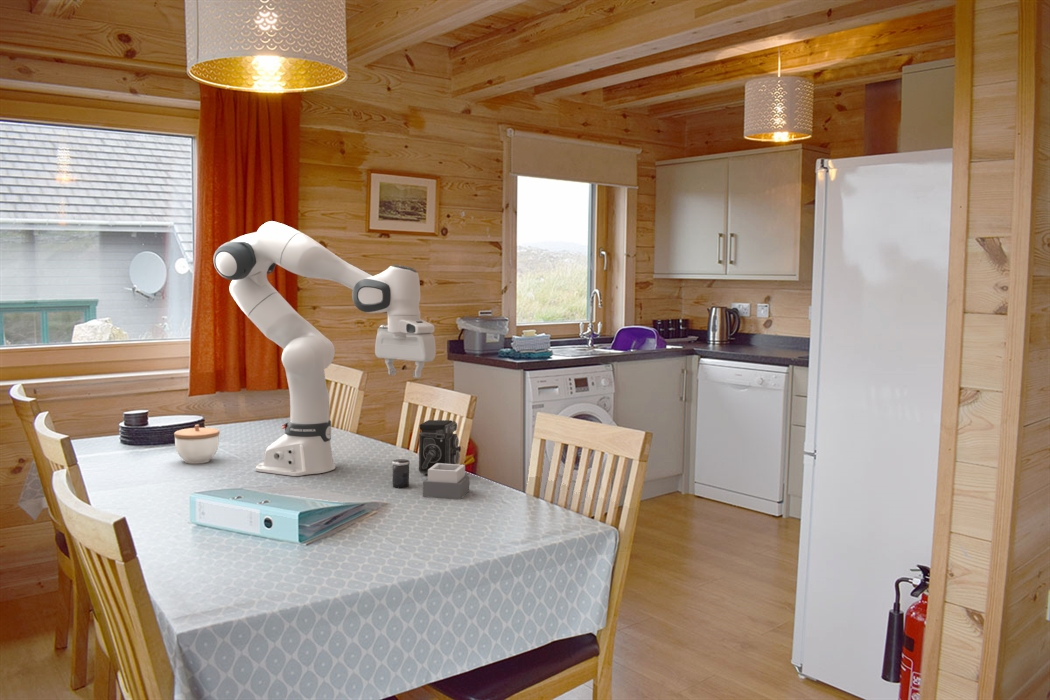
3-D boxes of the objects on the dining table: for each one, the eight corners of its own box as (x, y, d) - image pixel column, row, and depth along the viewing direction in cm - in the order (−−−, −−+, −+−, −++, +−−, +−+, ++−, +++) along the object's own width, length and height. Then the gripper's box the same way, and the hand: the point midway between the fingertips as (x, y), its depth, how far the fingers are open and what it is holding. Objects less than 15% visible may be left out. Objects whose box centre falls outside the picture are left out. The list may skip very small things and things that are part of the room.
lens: (389, 487, 214) (389, 462, 214) (395, 483, 219) (395, 458, 218) (406, 489, 213) (406, 463, 213) (411, 484, 218) (411, 459, 217)
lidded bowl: (165, 463, 238) (164, 426, 237) (197, 455, 250) (196, 420, 249) (198, 467, 233) (197, 430, 232) (229, 459, 245) (228, 423, 244)
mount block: (422, 496, 206) (422, 470, 205) (433, 488, 215) (433, 462, 214) (460, 499, 204) (460, 472, 204) (469, 490, 213) (469, 464, 212)
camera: (452, 478, 225) (453, 426, 224) (417, 476, 228) (417, 424, 226) (462, 470, 236) (463, 419, 234) (428, 468, 238) (429, 418, 236)
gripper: (369, 324, 220) (369, 374, 221) (422, 327, 208) (422, 380, 209) (386, 323, 225) (386, 372, 226) (439, 326, 213) (439, 378, 214)
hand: (404, 376), depth 217 cm, fingers open, 8 cm apart
